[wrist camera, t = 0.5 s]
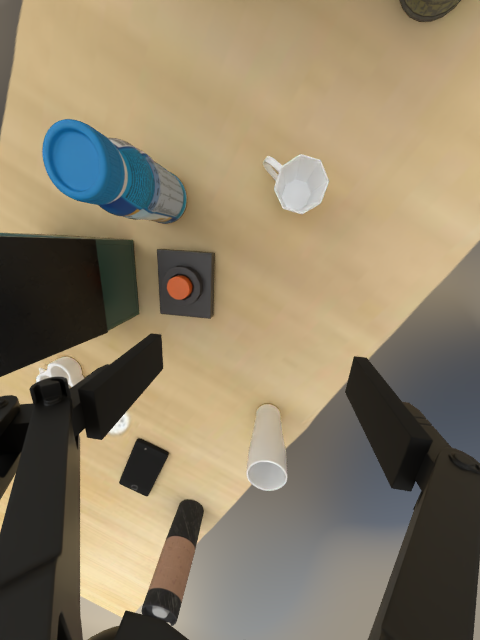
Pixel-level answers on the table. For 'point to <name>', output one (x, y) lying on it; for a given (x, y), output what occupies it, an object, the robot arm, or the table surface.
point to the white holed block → (62, 371)
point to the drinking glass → (267, 450)
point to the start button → (179, 287)
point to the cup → (298, 182)
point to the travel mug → (174, 564)
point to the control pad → (197, 271)
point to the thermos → (428, 8)
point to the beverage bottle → (111, 174)
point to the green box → (111, 276)
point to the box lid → (47, 298)
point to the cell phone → (143, 467)
